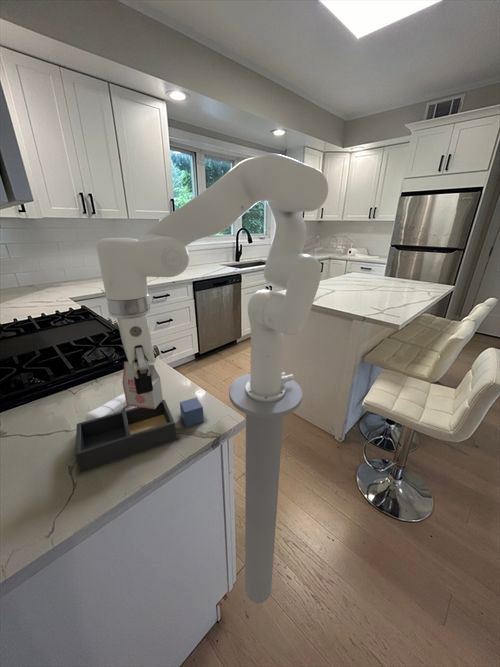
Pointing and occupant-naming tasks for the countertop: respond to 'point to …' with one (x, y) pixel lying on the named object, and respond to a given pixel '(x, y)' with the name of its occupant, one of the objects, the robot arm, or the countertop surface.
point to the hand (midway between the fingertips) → (141, 382)
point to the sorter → (122, 435)
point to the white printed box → (145, 399)
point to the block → (191, 411)
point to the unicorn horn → (108, 408)
